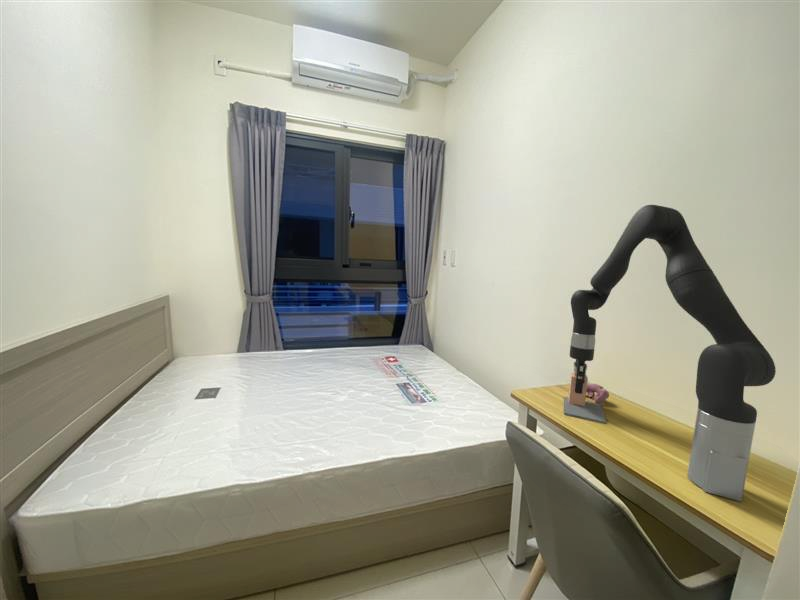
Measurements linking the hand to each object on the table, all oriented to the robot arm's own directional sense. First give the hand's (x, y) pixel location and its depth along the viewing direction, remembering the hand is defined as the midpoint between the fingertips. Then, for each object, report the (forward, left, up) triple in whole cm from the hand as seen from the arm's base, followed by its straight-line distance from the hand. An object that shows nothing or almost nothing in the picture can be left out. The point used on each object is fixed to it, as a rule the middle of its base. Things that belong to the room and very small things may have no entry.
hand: (577, 389), depth 116 cm
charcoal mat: (-4, -2, -6) cm, 7 cm away
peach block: (0, 0, -5) cm, 5 cm away
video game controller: (+9, -6, -6) cm, 12 cm away
